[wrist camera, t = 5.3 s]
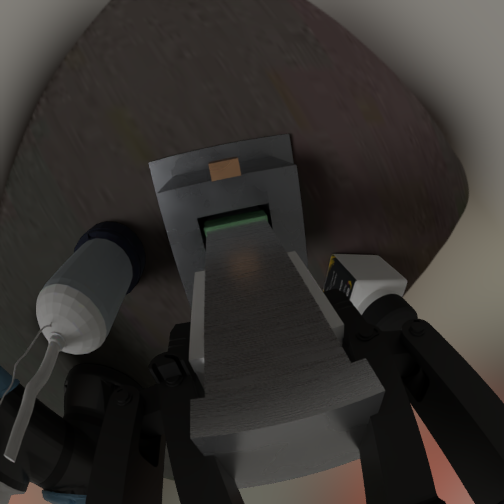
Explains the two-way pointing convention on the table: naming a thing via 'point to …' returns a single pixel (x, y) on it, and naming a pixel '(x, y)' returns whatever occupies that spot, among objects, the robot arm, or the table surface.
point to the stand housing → (228, 196)
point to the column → (272, 363)
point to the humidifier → (80, 305)
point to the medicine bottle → (371, 289)
